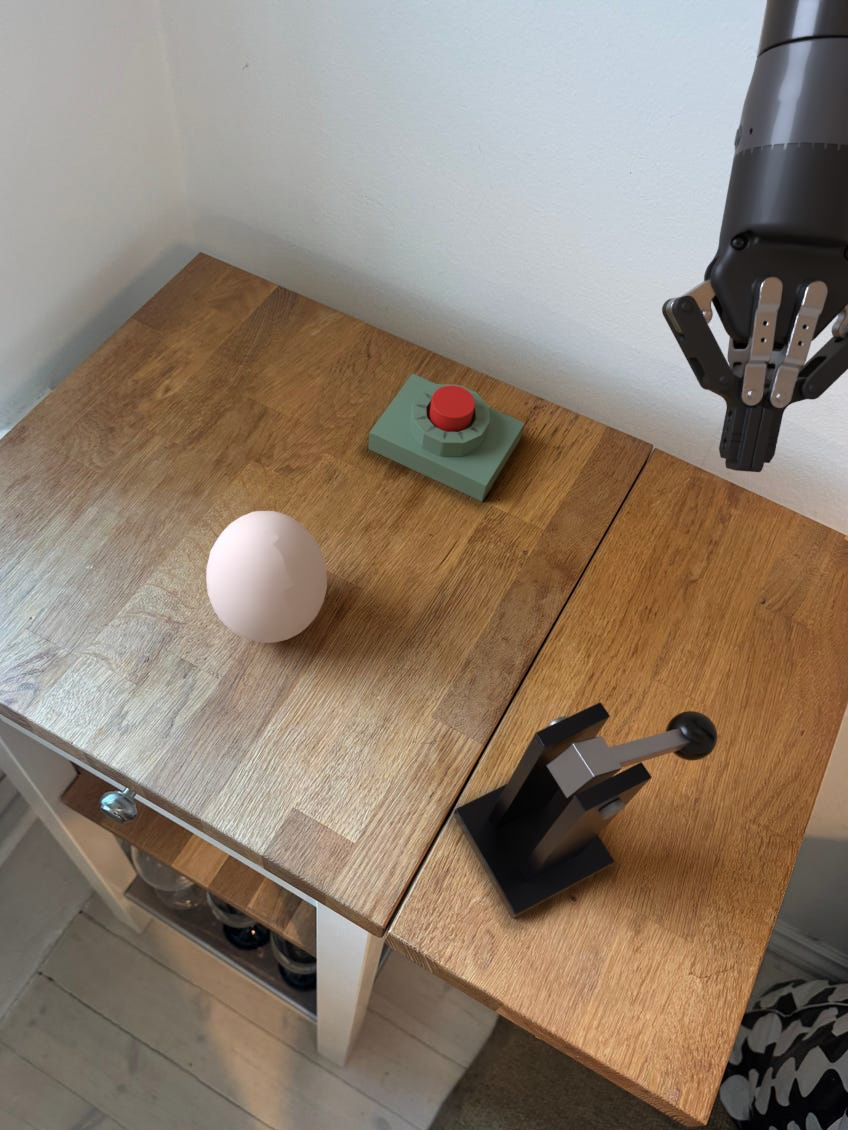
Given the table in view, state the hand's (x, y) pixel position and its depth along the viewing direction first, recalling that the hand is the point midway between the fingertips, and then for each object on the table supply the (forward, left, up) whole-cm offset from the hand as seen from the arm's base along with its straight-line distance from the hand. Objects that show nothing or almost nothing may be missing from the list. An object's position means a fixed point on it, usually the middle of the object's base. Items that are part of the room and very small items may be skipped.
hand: (743, 469), depth 56 cm
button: (+5, -23, -16) cm, 28 cm away
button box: (+5, -23, -20) cm, 31 cm away
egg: (+26, -13, -20) cm, 35 cm away
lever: (+12, +11, -10) cm, 19 cm away
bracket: (+17, +11, -20) cm, 28 cm away
